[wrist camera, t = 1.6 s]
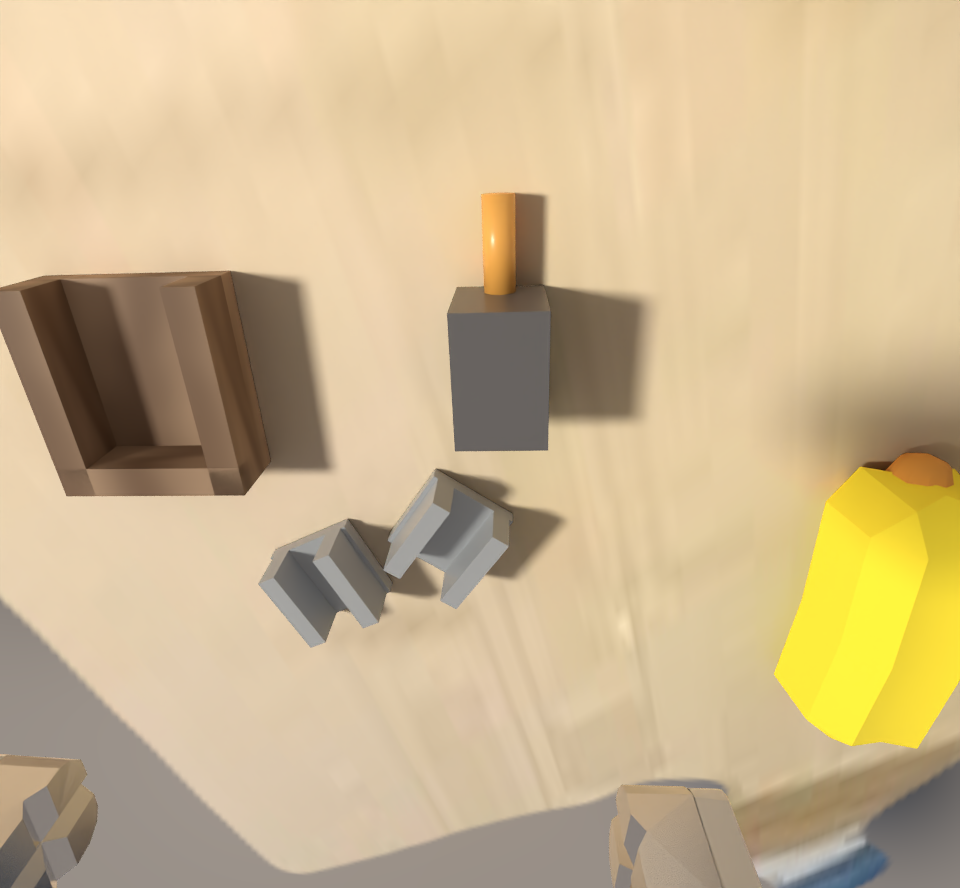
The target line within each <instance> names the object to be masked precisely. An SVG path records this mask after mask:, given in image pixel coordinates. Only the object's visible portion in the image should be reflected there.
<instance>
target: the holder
mask: <svg viewBox="0 0 960 888" xmlns="http://www.w3.org/2000/svg"><path fill="white" fill-rule="evenodd" d="M0 329H1V332H2V334H3V337H4V339H5V342H6V344H7V347H8V349H9V352H10V354H11V357H12V360H13V362H14V365H15V367H16V370H17V372H18V375H19V377H20V380H21V382H22V385H23V387H24V390H25V392H26V395H27V397H28V400H29V402H30V405H31V407H32V410H33V412H34V415H35V418H36V420H37V423H38V425H39V428H40V430H41V433H42V435H43V438H44V440H45V443H46V445H47V448H48V450H49V453H50V455H51V458H52V460H53V463H54V465H55V468H56V470H57V473H58V475H59V478H60V481H61V483H62V486H63V488H64V491H65V493H66V496H213V495H245V494H246V493H247V492H248V491H249V489H250V488H251V487H252V485H253V484H254V483H255V481H256V480H257V479H258V478H259V476H260V475H261V474H262V472H263V471H264V470H265V468H266V467H267V466H268V464H269V463H270V462H271V460H270V455H269V451H268V446H267V441H266V437H265V432H264V427H263V423H262V418H261V413H260V409H259V404H258V399H257V394H256V390H255V385H254V380H253V376H252V371H251V366H250V362H249V357H248V352H247V347H246V343H245V338H244V333H243V329H242V324H241V319H240V315H239V310H238V305H237V301H236V296H235V291H234V286H233V282H232V277H231V272H230V271H211V272H172V273H133V274H94V275H55V276H41V277H38V278H34V279H30V280H27V281H23V282H19V283H16V284H12V285H8V286H5V287H1V288H0Z"/></svg>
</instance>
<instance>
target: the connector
mask: <svg viewBox="0 0 960 888" xmlns="http://www.w3.org/2000/svg"><path fill="white" fill-rule="evenodd" d="M481 199H482V234H483V268H484V287H457V289H456V291H455V294H454V297H453V299H452V302H451V305H450V307H449V310H448V313H447V319H448V337H449V354H450V372H451V389H452V407H453V424H454V442H455V451H533V450H548V421H549V372H550V323H551V310H550V307H549V303H548V299H547V295H546V291H545V288H544V285H533V286H516V248H515V193H486V194H481Z"/></svg>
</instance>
